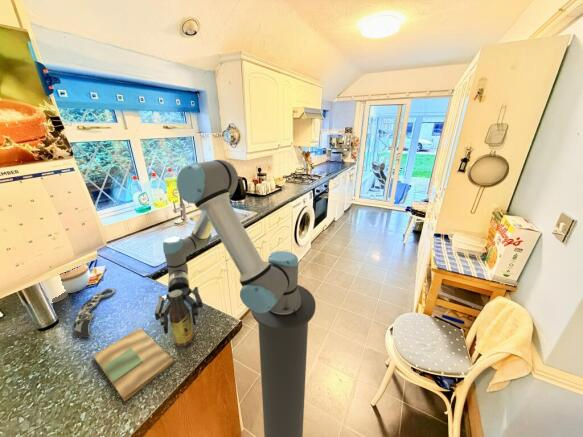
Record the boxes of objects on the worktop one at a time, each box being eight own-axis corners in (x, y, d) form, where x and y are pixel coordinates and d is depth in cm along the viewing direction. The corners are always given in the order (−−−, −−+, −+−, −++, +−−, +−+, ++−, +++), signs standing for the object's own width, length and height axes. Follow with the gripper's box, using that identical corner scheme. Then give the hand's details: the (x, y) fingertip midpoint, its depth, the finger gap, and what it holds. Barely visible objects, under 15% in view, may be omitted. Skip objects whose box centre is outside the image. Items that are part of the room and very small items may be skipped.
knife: (90, 335, 83) (55, 340, 79) (91, 338, 83) (56, 344, 80) (119, 286, 108) (92, 289, 105) (119, 289, 108) (93, 292, 105)
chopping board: (173, 362, 75) (172, 358, 74) (124, 402, 64) (123, 397, 63) (140, 330, 86) (139, 326, 86) (94, 358, 75) (93, 355, 75)
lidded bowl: (78, 297, 102) (69, 275, 98) (49, 296, 102) (39, 275, 98) (100, 279, 114) (93, 260, 110) (74, 279, 114) (66, 259, 110)
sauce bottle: (190, 347, 80) (181, 300, 72) (171, 348, 79) (160, 301, 72) (196, 332, 86) (188, 287, 79) (179, 332, 85) (169, 287, 78)
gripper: (206, 286, 99) (214, 324, 80) (151, 299, 91) (145, 346, 72) (204, 270, 96) (212, 307, 77) (147, 283, 88) (140, 327, 69)
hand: (180, 326), depth 74 cm, fingers open, 8 cm apart
